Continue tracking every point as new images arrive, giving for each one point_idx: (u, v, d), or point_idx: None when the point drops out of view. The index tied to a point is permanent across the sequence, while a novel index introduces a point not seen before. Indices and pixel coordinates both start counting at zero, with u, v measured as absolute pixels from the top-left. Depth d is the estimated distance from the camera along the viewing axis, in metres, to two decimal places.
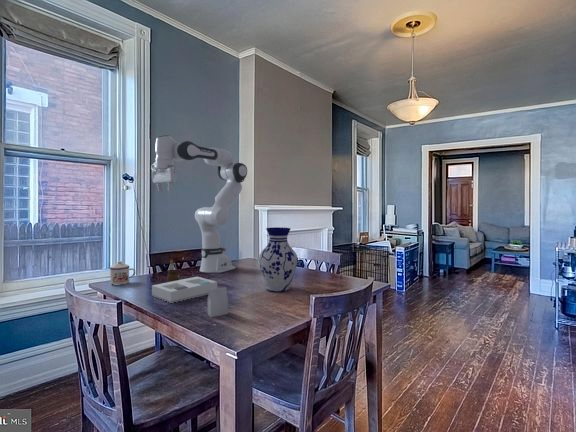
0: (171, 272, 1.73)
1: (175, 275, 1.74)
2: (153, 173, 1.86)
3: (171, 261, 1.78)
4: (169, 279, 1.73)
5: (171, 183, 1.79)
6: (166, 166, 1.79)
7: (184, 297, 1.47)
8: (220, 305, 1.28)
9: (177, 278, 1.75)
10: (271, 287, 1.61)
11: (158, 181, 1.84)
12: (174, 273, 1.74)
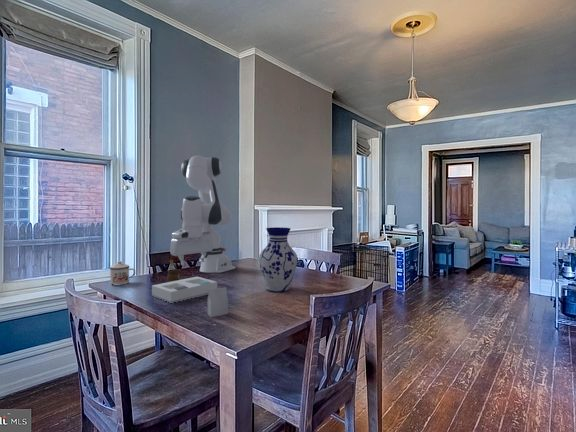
0: (171, 272, 1.73)
1: (175, 275, 1.74)
2: (179, 243, 1.44)
3: (171, 261, 1.78)
4: (169, 279, 1.73)
5: None
6: None
7: (184, 297, 1.47)
8: (220, 305, 1.28)
9: (177, 278, 1.75)
10: (271, 287, 1.61)
11: (188, 252, 1.48)
12: (174, 273, 1.74)
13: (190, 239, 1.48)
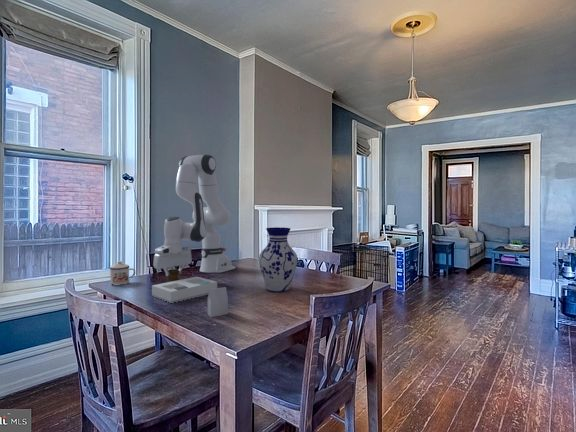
0: (171, 272, 1.73)
1: (175, 275, 1.74)
2: (161, 258, 1.68)
3: None
4: (169, 279, 1.73)
5: None
6: None
7: (184, 297, 1.47)
8: (220, 305, 1.28)
9: (177, 278, 1.75)
10: (271, 287, 1.61)
11: (169, 265, 1.72)
12: (174, 273, 1.74)
13: (171, 254, 1.72)
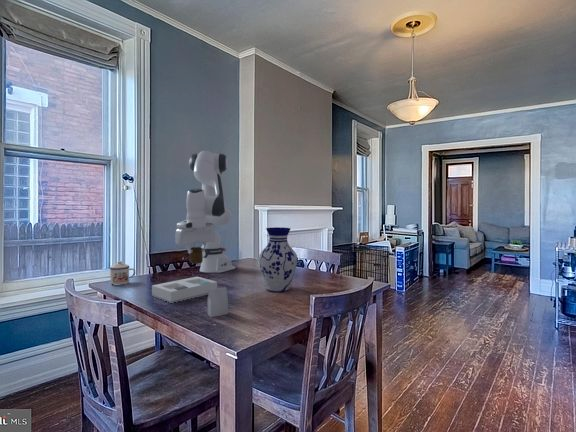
0: (194, 249, 1.58)
1: (198, 253, 1.58)
2: (184, 233, 1.53)
3: None
4: (192, 257, 1.58)
5: None
6: None
7: (184, 297, 1.47)
8: (220, 305, 1.28)
9: (200, 256, 1.59)
10: (271, 287, 1.61)
11: (192, 242, 1.57)
12: (197, 251, 1.58)
13: (194, 229, 1.57)
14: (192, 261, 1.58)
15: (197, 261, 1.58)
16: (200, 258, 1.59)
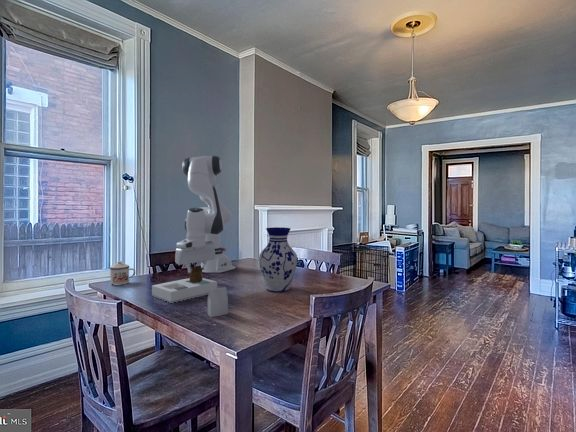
0: (194, 269, 1.58)
1: (198, 272, 1.58)
2: (183, 253, 1.53)
3: None
4: (191, 276, 1.58)
5: None
6: None
7: (184, 297, 1.47)
8: (220, 305, 1.28)
9: (200, 275, 1.59)
10: (271, 287, 1.61)
11: (192, 261, 1.57)
12: (197, 270, 1.58)
13: (194, 248, 1.57)
14: (192, 280, 1.58)
15: (197, 280, 1.58)
16: (200, 277, 1.59)
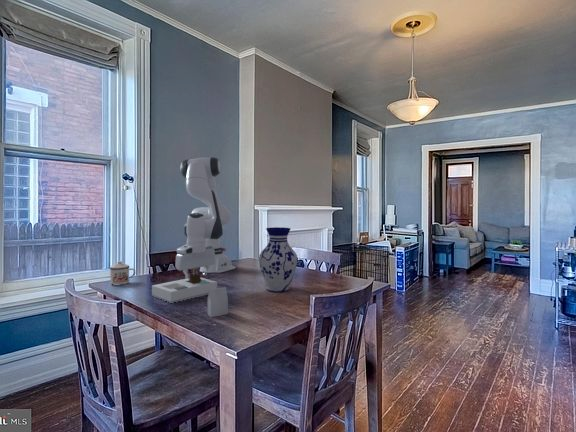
0: (193, 277, 1.58)
1: (197, 281, 1.58)
2: (184, 258, 1.53)
3: None
4: None
5: None
6: None
7: (184, 297, 1.47)
8: (220, 305, 1.28)
9: None
10: (271, 287, 1.61)
11: (192, 267, 1.57)
12: (196, 278, 1.58)
13: (194, 254, 1.57)
14: None
15: None
16: None
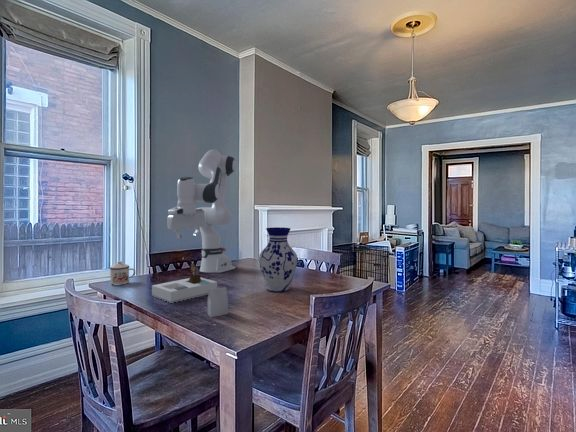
0: (192, 277, 1.58)
1: (197, 281, 1.58)
2: (175, 219, 1.62)
3: (192, 265, 1.62)
4: None
5: None
6: None
7: (184, 297, 1.47)
8: (220, 305, 1.28)
9: None
10: (271, 287, 1.61)
11: (183, 227, 1.66)
12: (196, 278, 1.58)
13: (185, 215, 1.66)
14: None
15: None
16: None
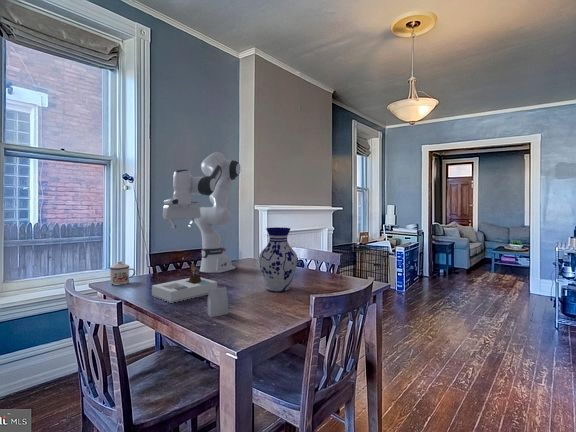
0: (193, 277, 1.58)
1: (197, 281, 1.58)
2: (170, 209, 1.67)
3: (192, 265, 1.62)
4: None
5: None
6: None
7: (184, 297, 1.47)
8: (220, 305, 1.28)
9: None
10: (271, 287, 1.61)
11: (178, 217, 1.71)
12: (196, 278, 1.58)
13: (180, 206, 1.71)
14: None
15: None
16: None
